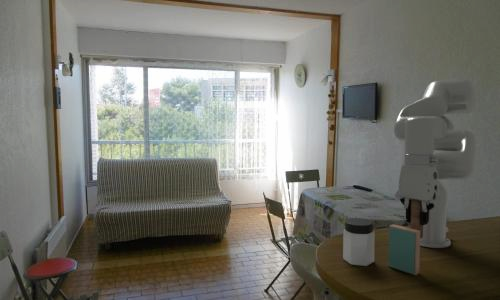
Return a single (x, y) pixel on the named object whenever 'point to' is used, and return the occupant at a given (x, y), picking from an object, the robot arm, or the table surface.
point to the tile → (404, 249)
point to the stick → (416, 216)
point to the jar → (358, 241)
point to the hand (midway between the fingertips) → (416, 222)
